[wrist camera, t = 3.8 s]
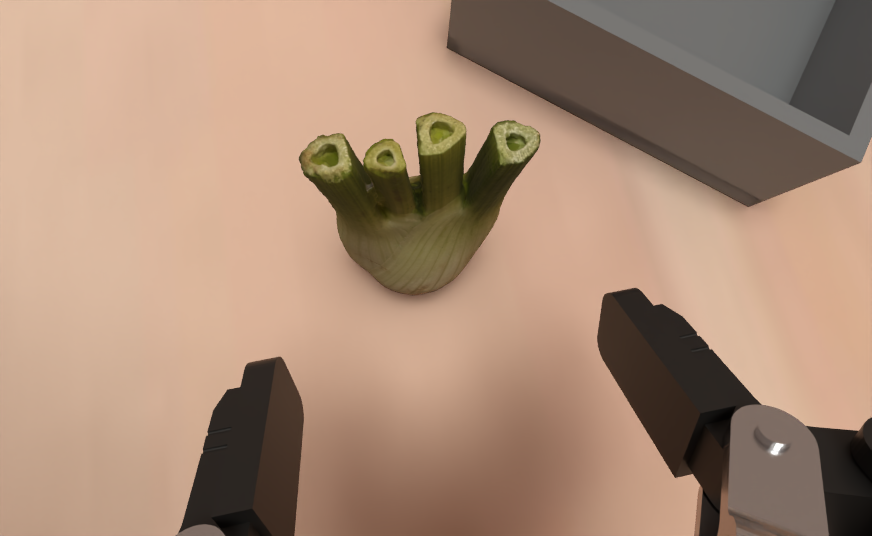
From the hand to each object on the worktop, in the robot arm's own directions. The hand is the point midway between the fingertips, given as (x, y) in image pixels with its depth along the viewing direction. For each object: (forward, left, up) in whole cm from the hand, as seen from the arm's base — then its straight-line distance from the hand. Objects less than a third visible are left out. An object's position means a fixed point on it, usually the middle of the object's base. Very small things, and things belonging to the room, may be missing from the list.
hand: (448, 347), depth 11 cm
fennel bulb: (-3, +4, -11) cm, 12 cm away
